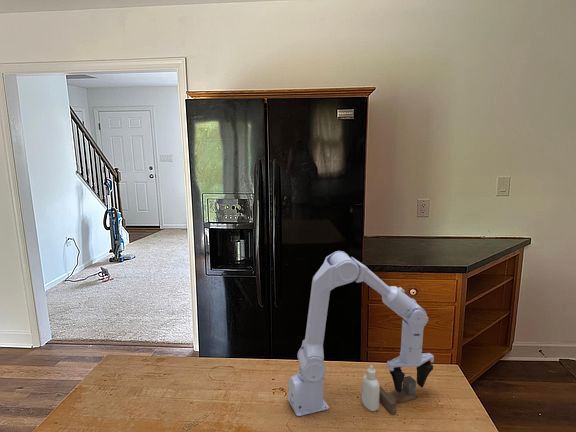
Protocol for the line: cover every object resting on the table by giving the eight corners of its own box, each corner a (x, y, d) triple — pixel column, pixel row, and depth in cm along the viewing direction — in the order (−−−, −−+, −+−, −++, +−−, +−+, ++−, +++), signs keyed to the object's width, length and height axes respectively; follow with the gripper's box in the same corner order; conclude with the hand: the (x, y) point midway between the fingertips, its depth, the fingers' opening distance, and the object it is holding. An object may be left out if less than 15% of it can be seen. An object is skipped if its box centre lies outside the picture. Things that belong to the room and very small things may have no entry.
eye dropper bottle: (376, 399, 110) (378, 360, 108) (379, 412, 105) (381, 372, 103) (361, 398, 111) (362, 359, 109) (363, 411, 105) (364, 371, 103)
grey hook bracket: (391, 414, 104) (392, 397, 103) (370, 390, 114) (370, 375, 113) (424, 405, 107) (425, 389, 106) (400, 383, 117) (401, 368, 116)
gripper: (423, 334, 115) (421, 375, 117) (381, 341, 110) (379, 385, 113) (440, 345, 109) (437, 389, 111) (396, 354, 104) (393, 399, 106)
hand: (409, 388), depth 111 cm, fingers open, 7 cm apart
